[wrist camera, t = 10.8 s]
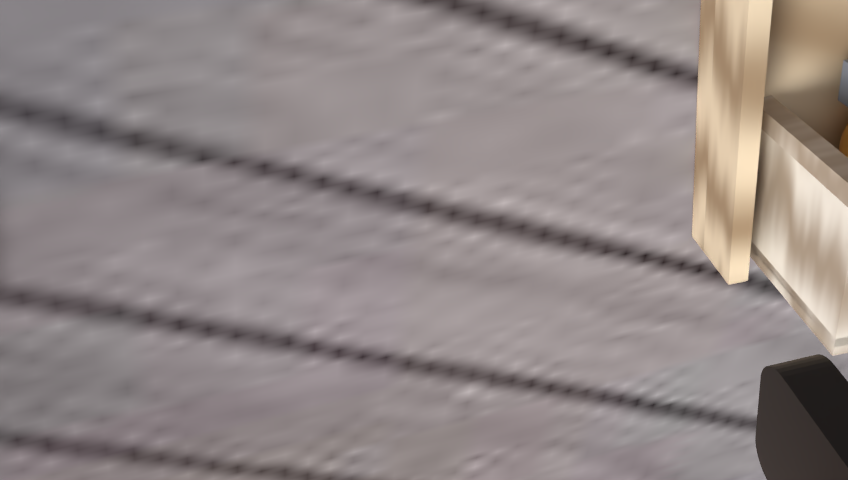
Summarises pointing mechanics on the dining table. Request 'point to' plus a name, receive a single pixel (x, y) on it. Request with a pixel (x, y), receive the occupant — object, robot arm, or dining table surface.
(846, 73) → the rod
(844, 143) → the ball
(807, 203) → the game board
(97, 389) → the dining table surface
